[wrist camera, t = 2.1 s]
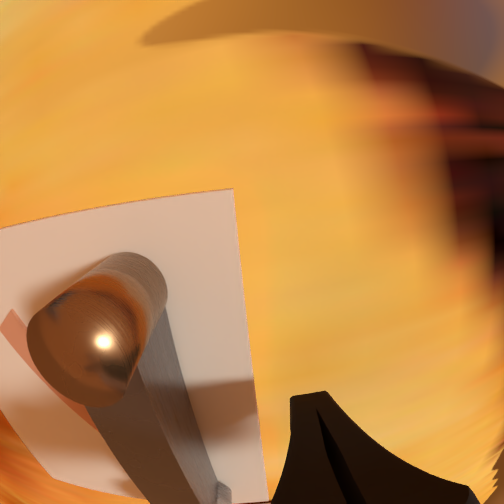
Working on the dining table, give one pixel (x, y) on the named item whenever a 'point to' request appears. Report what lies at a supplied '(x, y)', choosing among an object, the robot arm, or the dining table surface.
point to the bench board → (180, 319)
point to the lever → (127, 377)
